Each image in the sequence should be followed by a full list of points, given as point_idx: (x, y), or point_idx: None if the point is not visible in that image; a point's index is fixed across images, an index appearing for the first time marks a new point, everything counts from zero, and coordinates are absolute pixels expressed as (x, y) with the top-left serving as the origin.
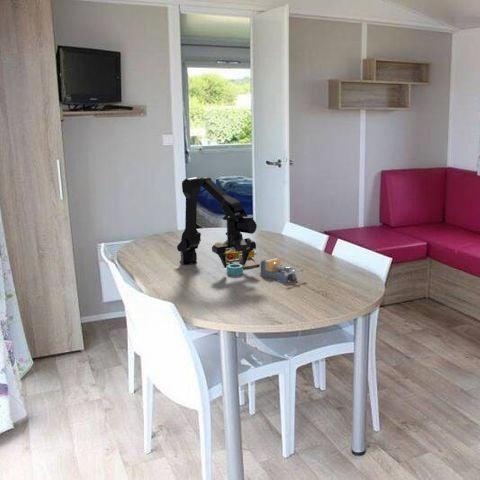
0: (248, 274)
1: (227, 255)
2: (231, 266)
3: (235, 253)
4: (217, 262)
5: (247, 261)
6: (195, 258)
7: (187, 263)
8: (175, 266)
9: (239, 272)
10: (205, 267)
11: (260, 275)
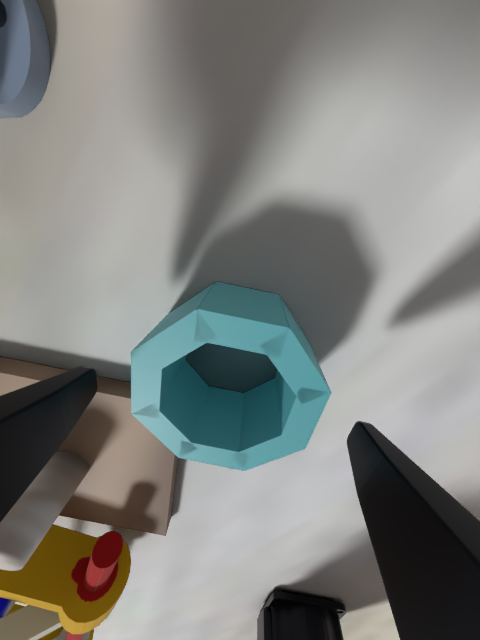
0: (154, 224)
1: (109, 587)
2: (231, 433)
3: (38, 584)
4: (184, 547)
5: None
6: (274, 630)
7: (329, 608)
8: (386, 611)
9: (232, 292)
10: (296, 539)
11: (43, 35)
